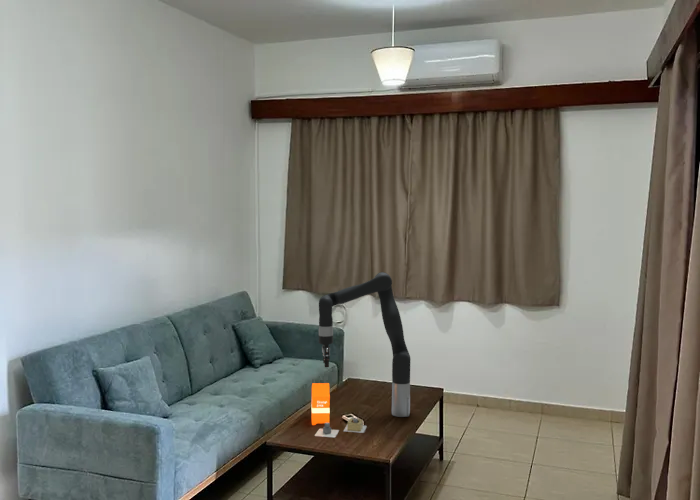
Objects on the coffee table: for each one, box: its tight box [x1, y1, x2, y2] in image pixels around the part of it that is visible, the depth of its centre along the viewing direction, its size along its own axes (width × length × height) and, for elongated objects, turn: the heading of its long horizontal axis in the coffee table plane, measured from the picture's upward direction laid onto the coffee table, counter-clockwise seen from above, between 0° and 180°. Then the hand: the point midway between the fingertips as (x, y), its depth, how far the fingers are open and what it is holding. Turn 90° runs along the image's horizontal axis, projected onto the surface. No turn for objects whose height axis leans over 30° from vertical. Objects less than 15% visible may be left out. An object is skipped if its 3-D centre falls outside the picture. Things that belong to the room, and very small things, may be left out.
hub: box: [314, 422, 340, 438], centre depth 315 cm, size 10×10×6 cm
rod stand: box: [343, 418, 368, 434], centre depth 321 cm, size 10×10×5 cm
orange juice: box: [310, 382, 331, 426], centre depth 331 cm, size 8×9×20 cm
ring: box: [347, 418, 364, 431], centre depth 321 cm, size 6×6×4 cm
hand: (326, 365), depth 344 cm, fingers open, 8 cm apart
